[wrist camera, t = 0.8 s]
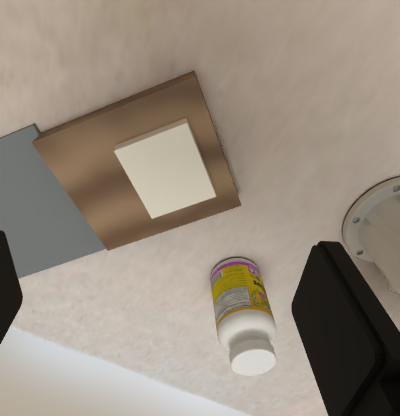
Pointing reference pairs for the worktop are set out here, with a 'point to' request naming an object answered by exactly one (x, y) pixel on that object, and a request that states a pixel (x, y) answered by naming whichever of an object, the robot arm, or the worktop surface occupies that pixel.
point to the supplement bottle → (243, 316)
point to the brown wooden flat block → (113, 170)
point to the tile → (166, 168)
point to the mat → (38, 209)
